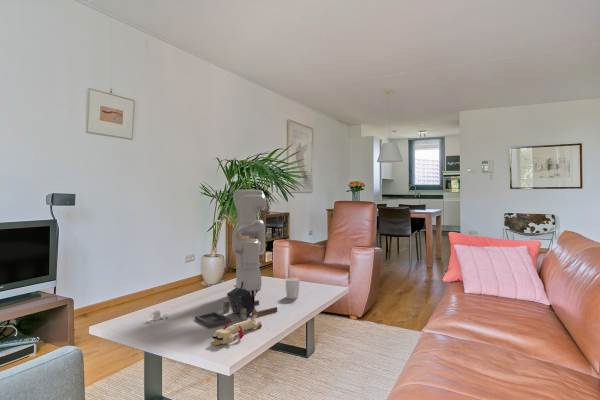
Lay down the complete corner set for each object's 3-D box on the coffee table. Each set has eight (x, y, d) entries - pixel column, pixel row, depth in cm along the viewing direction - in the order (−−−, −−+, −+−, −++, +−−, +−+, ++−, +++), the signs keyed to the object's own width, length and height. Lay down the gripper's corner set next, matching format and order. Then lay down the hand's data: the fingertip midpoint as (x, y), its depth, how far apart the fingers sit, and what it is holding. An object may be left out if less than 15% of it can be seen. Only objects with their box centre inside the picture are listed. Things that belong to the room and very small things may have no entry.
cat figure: (247, 327, 154) (204, 342, 132) (248, 307, 154) (205, 318, 133) (265, 332, 148) (224, 348, 127) (266, 310, 149) (225, 323, 128)
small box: (256, 309, 166) (250, 290, 164) (246, 317, 162) (239, 298, 159) (242, 305, 174) (236, 286, 171) (232, 312, 169) (226, 293, 166)
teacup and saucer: (169, 317, 163) (169, 308, 163) (166, 322, 156) (166, 313, 156) (149, 318, 162) (149, 309, 162) (145, 324, 154) (145, 315, 154)
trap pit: (194, 319, 159) (194, 316, 159) (215, 314, 166) (215, 311, 166) (210, 328, 148) (210, 324, 148) (231, 322, 155) (231, 319, 155)
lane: (223, 311, 170) (223, 301, 170) (257, 303, 184) (257, 294, 184) (242, 321, 157) (242, 309, 157) (277, 311, 171) (277, 301, 171)
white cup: (283, 296, 198) (283, 278, 198) (296, 294, 202) (296, 277, 201) (288, 299, 191) (288, 281, 191) (301, 298, 194) (301, 280, 194)
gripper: (259, 263, 178) (258, 300, 178) (233, 267, 168) (233, 306, 168) (268, 265, 172) (268, 303, 172) (242, 269, 162) (242, 309, 162)
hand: (251, 304), depth 170 cm, fingers closed
